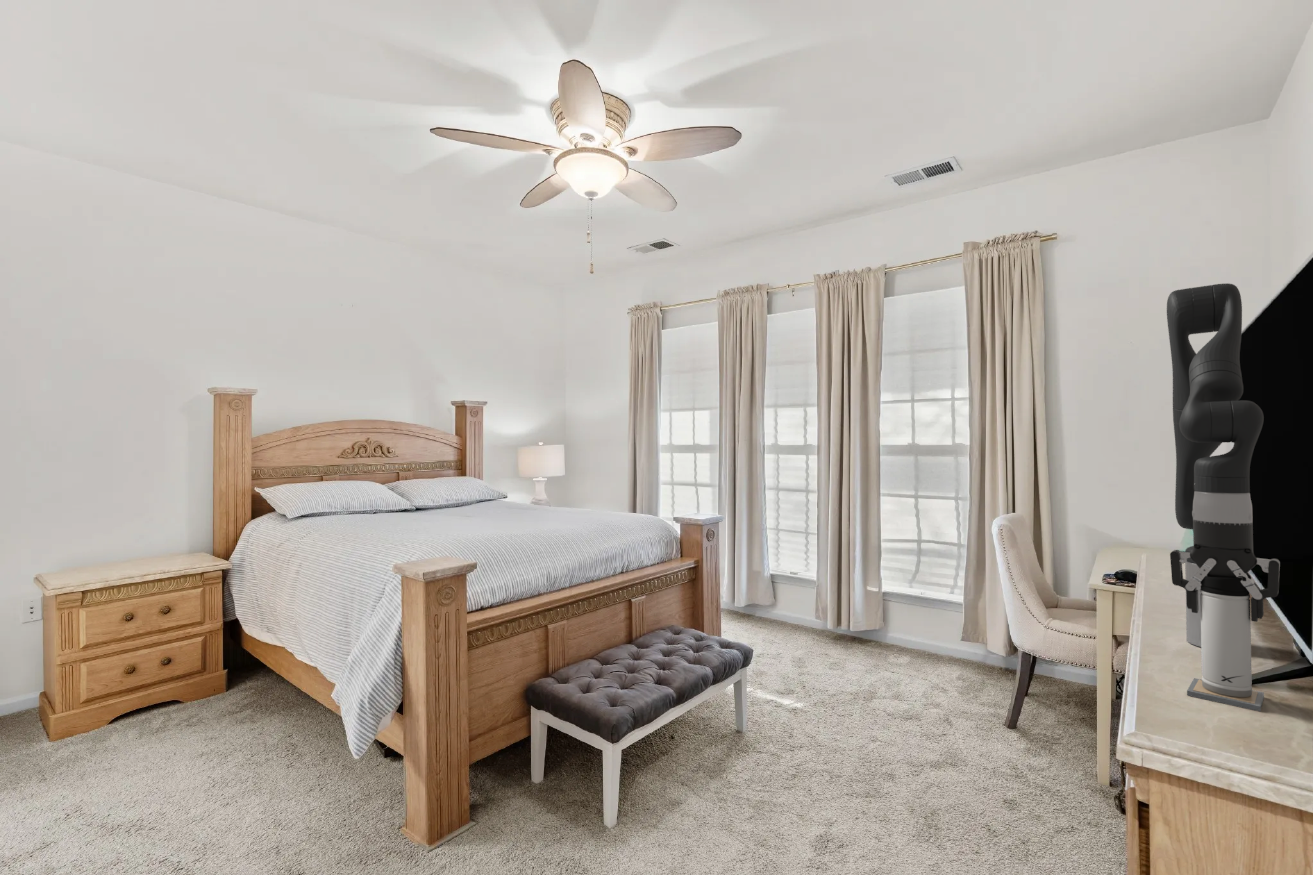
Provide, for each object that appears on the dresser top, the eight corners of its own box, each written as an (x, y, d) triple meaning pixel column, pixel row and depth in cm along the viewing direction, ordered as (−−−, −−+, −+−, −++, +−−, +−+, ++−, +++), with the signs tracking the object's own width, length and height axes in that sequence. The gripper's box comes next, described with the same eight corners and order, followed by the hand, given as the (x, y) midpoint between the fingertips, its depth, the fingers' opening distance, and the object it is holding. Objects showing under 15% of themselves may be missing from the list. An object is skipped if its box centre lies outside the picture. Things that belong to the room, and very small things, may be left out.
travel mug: (1236, 700, 102) (1234, 577, 102) (1192, 685, 108) (1190, 570, 109) (1264, 696, 104) (1261, 575, 104) (1219, 681, 110) (1217, 567, 110)
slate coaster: (1194, 682, 112) (1194, 677, 112) (1264, 697, 106) (1263, 691, 106) (1187, 695, 107) (1186, 689, 107) (1260, 711, 100) (1260, 705, 100)
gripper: (1283, 520, 104) (1285, 620, 104) (1171, 513, 114) (1173, 604, 114) (1280, 524, 99) (1282, 630, 98) (1164, 517, 109) (1165, 612, 109)
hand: (1223, 615), depth 106 cm, fingers open, 7 cm apart
